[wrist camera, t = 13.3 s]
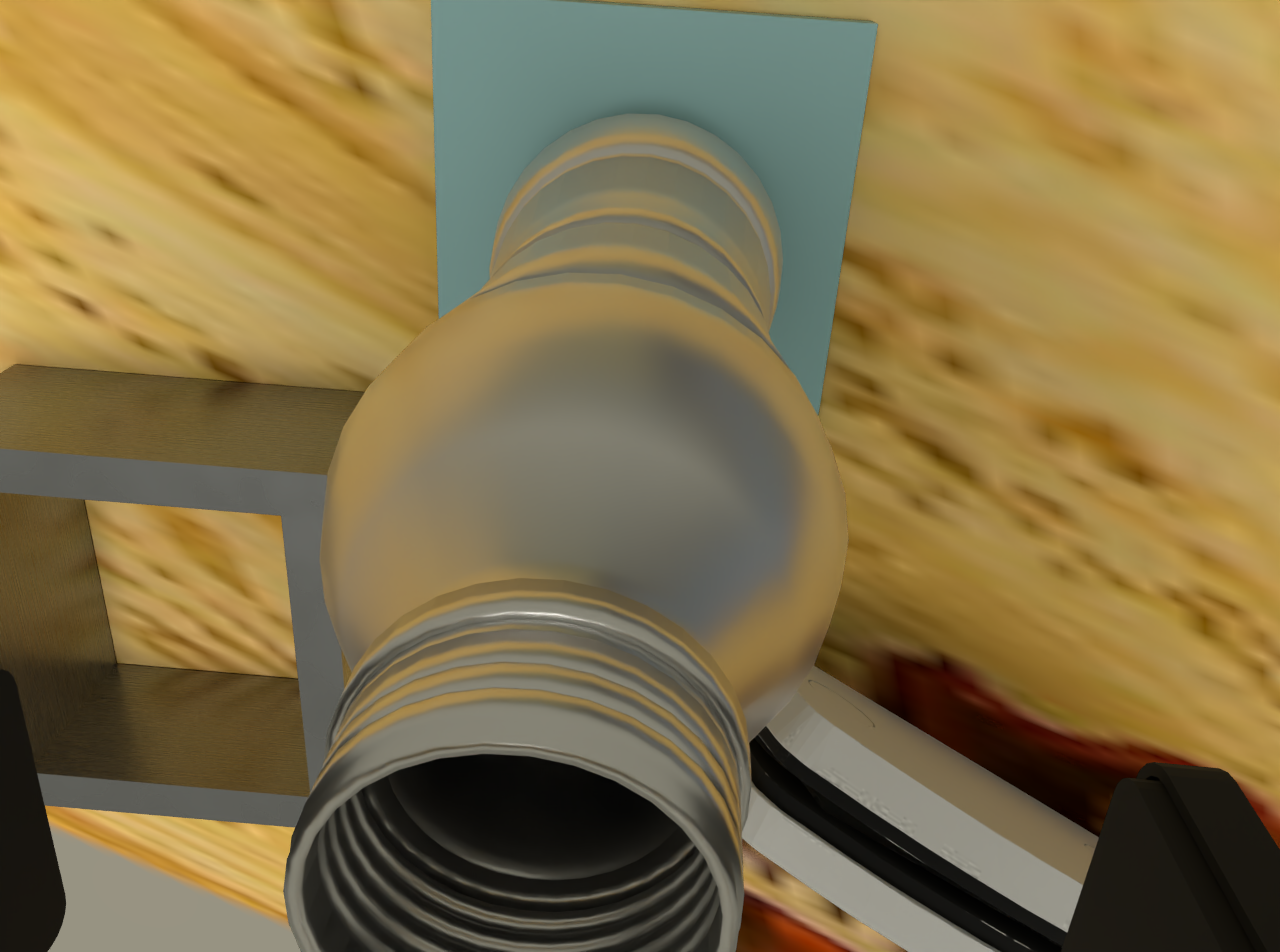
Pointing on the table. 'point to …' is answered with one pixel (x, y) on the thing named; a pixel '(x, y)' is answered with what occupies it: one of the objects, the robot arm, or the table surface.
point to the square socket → (74, 606)
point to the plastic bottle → (572, 574)
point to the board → (666, 85)
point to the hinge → (909, 829)
